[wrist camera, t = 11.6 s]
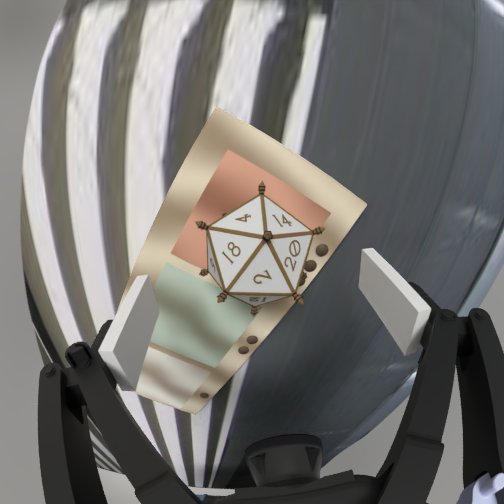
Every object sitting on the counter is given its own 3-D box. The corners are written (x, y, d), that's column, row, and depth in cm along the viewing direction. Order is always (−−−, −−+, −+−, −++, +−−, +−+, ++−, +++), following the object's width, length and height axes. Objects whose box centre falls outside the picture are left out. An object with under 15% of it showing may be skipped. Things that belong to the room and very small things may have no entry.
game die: (243, 198, 26) (254, 136, 16) (317, 254, 25) (369, 220, 16) (181, 274, 24) (152, 249, 14) (259, 335, 23) (283, 351, 14)
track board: (196, 408, 36) (195, 415, 34) (99, 369, 31) (96, 376, 30) (361, 200, 24) (367, 204, 23) (217, 107, 20) (216, 106, 19)
